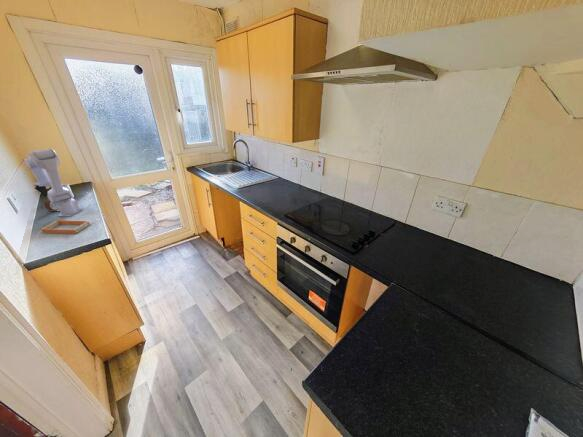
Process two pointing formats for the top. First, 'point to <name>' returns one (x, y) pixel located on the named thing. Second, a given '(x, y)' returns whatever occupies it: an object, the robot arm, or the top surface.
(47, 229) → the wooden frame
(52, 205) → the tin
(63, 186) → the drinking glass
